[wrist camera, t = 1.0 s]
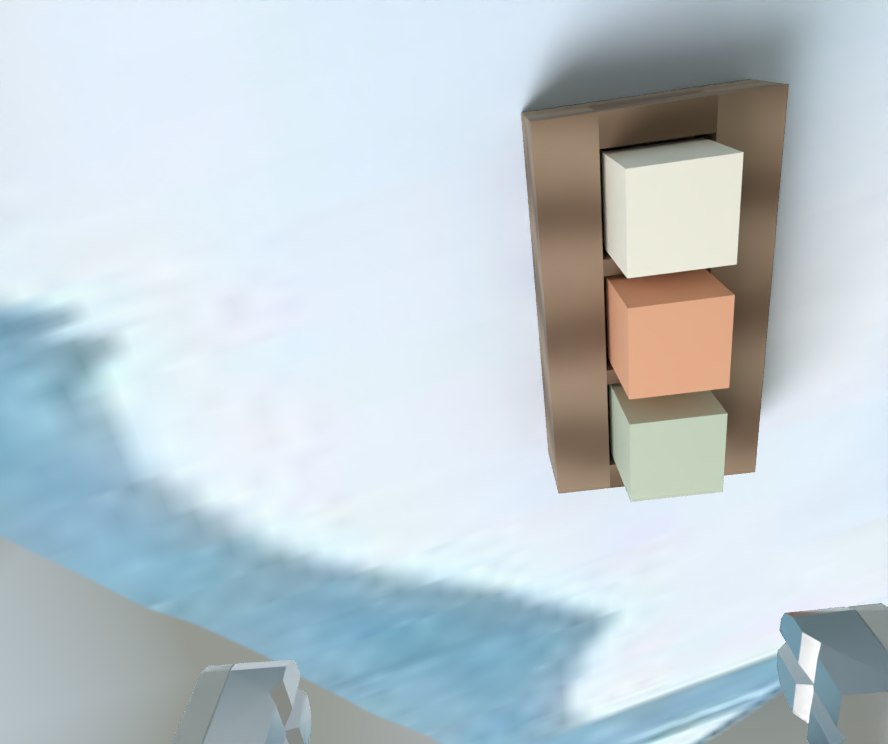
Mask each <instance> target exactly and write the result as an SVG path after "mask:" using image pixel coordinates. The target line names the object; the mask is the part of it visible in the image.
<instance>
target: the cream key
mask: <svg viewBox="0 0 888 744" xmlns="http://www.w3.org/2000/svg"><path fill="white" fill-rule="evenodd" d="M601 153H602V185H603V218H604V249H605V250H606V251H607V252H608V254H609V255H610V256H611V258H612V259H613V260H614V262H615V263H616V264H617V266H618V267H619V268H620V270H621V271H622V272H623V273H624V275H625V276H626V277H627V278H635V277H643V276H651V275H658V274H666V273H674V272H682V271H689V270H697V269H705V268H713V267H720V266H728V265H736V264H737V252H738V235H739V219H740V202H741V186H742V170H743V153H744V152H741V151H739V150H736V149H733V148H731V147H728V146H725V145H723V144H720V143H717V142H715V141H712V140H709V139H707V138H704V137H701V138H694V139H687V140H680V141H673V142H666V143H658V144H651V145H644V146H637V147H630V148H623V149H616V150H609V151H602V152H601Z"/></svg>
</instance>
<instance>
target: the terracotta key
mask: <svg viewBox="0 0 888 744" xmlns="http://www.w3.org/2000/svg"><path fill="white" fill-rule="evenodd" d="M605 282H606V315H607V347H608V359H609V361H610V363H611V365H612V367H613V369H614V371H615V373H616V375H617V377H618V379H619V381H620V383H621V384H622V386H623V388H624V390H625V392H626V394H627V396H628V398H629V400H630V399H639V398H647V397H656V396H664V395H673V394H681V393H690V392H698V391H707V390H715V389H724V388H729V383H730V366H731V350H732V333H733V317H734V301H735V295H734V294H733V293H732V292H731V291H730V290H729V289H728V288H726V287H725V286H724V285H723V284H722V283H721V282H720V281H718V280H717V279H716V278H715V277H714V276H713V275H712V274H711V273H709V272H708V271H707V270H706V269H697V270H689V271H682V272H674V273H666V274H658V275H651V276H643V277H635V278H627V277H626V276H625V275H624V274H619V275H611V276H605Z"/></svg>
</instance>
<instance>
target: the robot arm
mask: <svg viewBox="0 0 888 744" xmlns="http://www.w3.org/2000/svg"><path fill="white" fill-rule="evenodd" d="M780 632H781V634H782V636H783V637H784V639H785V641H786V643H785V644H784V645H783V646H782V647H781V648H780V649H779V650H778V654H777V670H778V675H779V681H780V685H781V688H782V690H783V693H784V695H785V698H786V700H787V702H788V704H789V706H790V708H791V710H792V712H793V713H794V714H796V715H797V716H799V717H800V718H801V719H803V720H804V721H806V722H807V723H808V732H807V740H808V742H809V744H888V607H887V606H885V605H883V604H882V603H879V604H869V605H859V606H849V607H837V608H827V609H818V610H808V611H799V612H789V613H784V615H783V617H782V618H781V624H780ZM299 679H300V672H299V669H298V667H297V664H296V661H293V660H284V661H269V662H253V663H239V664H231V665H217V666H207V667H206V668H205V670H204V671H203V672H202V673H201V674H200V676H199V678H198V681H197V683H196V686H195V688H194V690H193V693H192V695H191V698H190V700H189V702H188V705H187V707H186V710H185V712H184V715H183V717H182V719H181V722H180V724H179V726H178V729H177V731H176V734H175V736H174V738H173V741H172V743H171V744H309V742H310V736H311V712H310V704H309V701H308V698H307V694H306V693H305V692H304V691H302V690H301V689H299V688H298V683H299Z"/></svg>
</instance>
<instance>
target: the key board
mask: <svg viewBox="0 0 888 744" xmlns="http://www.w3.org/2000/svg"><path fill="white" fill-rule="evenodd" d="M788 85H789V84H783V83H775V82H767V81H759V80H751V79H748V80H741V81H734V82H727V83H720V84H713V85H707V86H700V87H693V88H686V89H679V90H673V91H666V92H659V93H652V94H645V95H638V96H632V97H625V98H618V99H611V100H604V101H598V102H591V103H584V104H577V105H570V106H563V107H557V108H550V109H543V110H536V111H529V112H523V113H521V117H522V130H523V142H524V154H525V167H526V179H527V191H528V204H529V216H530V229H531V241H532V253H533V266H534V278H535V290H536V303H537V315H538V328H539V340H540V352H541V365H542V377H543V389H544V402H545V414H546V427H547V439H548V451H549V457H550V461H551V465H552V469H553V473H554V477H555V481H556V485H557V489H558V493H568V492H577V491H586V490H595V489H604V488H613V487H623V486H624V483H623V481H622V478H621V476H620V473H619V471H618V468H617V466H616V463H615V461H614V458H613V456H612V453H611V444H610V412H609V384H616V383H620V381H619V379H618V377H617V375H616V373H615V371H614V369H613V367H612V365H611V363H610V361H609V359H608V347H607V315H606V282H605V276H611V275H619V274H624V273H623V272H622V271H621V270H620V268H619V267H618V266H617V264H616V263H615V262H614V260H613V259H612V258H611V256H610V255H609V254H608V252H607V251H606V250H605V249H604V218H603V185H602V153H601V152H602V151H609V150H616V149H623V148H630V147H637V146H644V145H651V144H658V143H666V142H673V141H680V140H687V139H694V138H701V137H704V138H707V139H709V140H712V141H715V142H717V143H720V144H723V145H725V146H728V147H731V148H733V149H736V150H739V151H741V152H744V153H743V170H742V186H741V202H740V219H739V235H738V252H737V264H736V265H728V266H720V267H713V268H705V269H706V270H707V271H708V272H709V273H711V274H712V275H713V276H714V277H715V278H716V279H717V280H718V281H720V282H721V283H722V284H723V285H724V286H725V287H726V288H728V289H729V290H730V291H731V292H732V293H733V294H734V295H735V301H734V317H733V333H732V350H731V366H730V383H729V388H724V389H715V390H710V391H711V392H712V393H713V395H714V396H715V397H716V399H717V400H718V401H719V403H720V404H721V405H722V407H723V408H724V409H725V411H726V412H727V413H728V415H727V432H726V448H725V465H724V475H733V474H742V473H751V472H755V467H756V455H757V444H758V432H759V421H760V409H761V397H762V386H763V374H764V363H765V351H766V339H767V328H768V316H769V305H770V293H771V282H772V270H773V258H774V247H775V235H776V224H777V212H778V200H779V189H780V177H781V166H782V154H783V142H784V131H785V119H786V108H787V96H788Z"/></svg>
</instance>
